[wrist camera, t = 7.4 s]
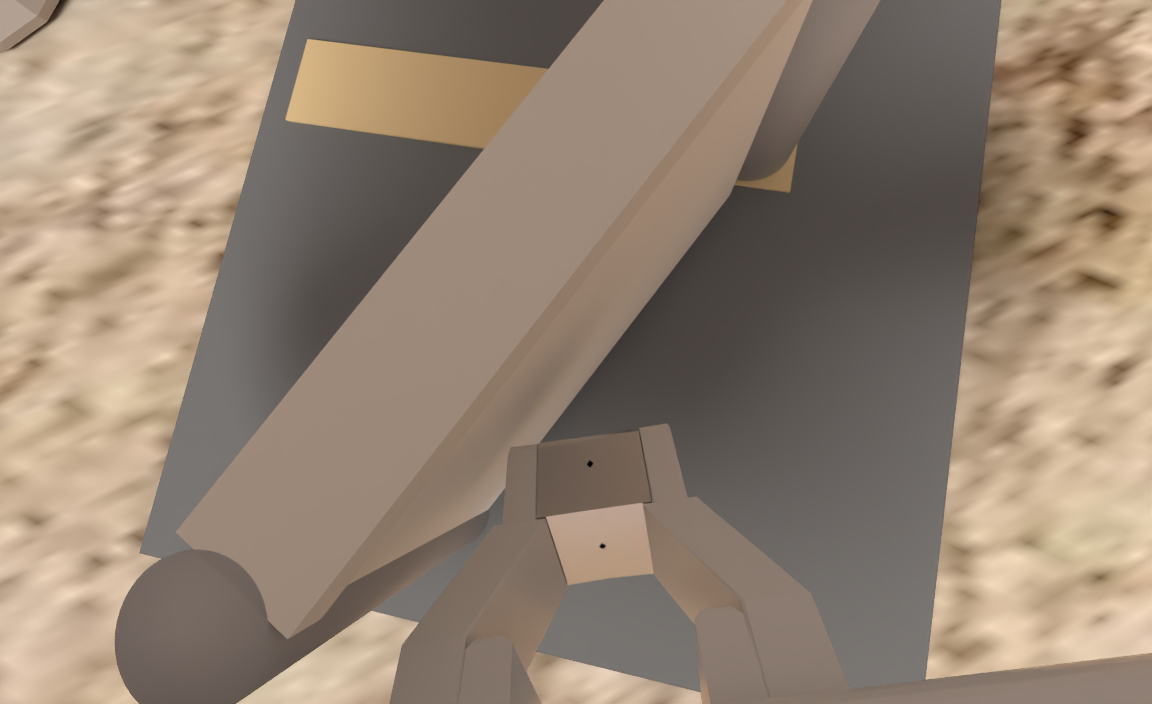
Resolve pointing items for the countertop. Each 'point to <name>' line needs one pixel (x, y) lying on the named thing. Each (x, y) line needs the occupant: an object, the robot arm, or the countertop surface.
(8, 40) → the water bottle
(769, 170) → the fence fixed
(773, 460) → the mat
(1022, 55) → the countertop surface
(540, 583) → the robot arm
